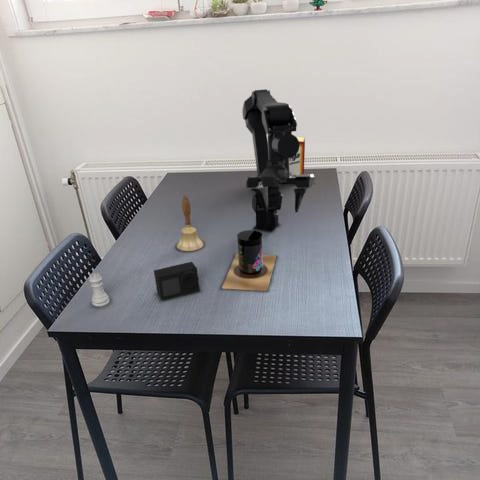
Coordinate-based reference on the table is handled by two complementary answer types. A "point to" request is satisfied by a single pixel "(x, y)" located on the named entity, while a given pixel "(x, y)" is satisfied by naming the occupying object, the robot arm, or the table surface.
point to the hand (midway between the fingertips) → (281, 212)
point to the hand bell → (188, 230)
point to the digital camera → (176, 280)
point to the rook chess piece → (98, 291)
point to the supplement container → (250, 252)
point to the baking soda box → (298, 159)
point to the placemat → (250, 276)
